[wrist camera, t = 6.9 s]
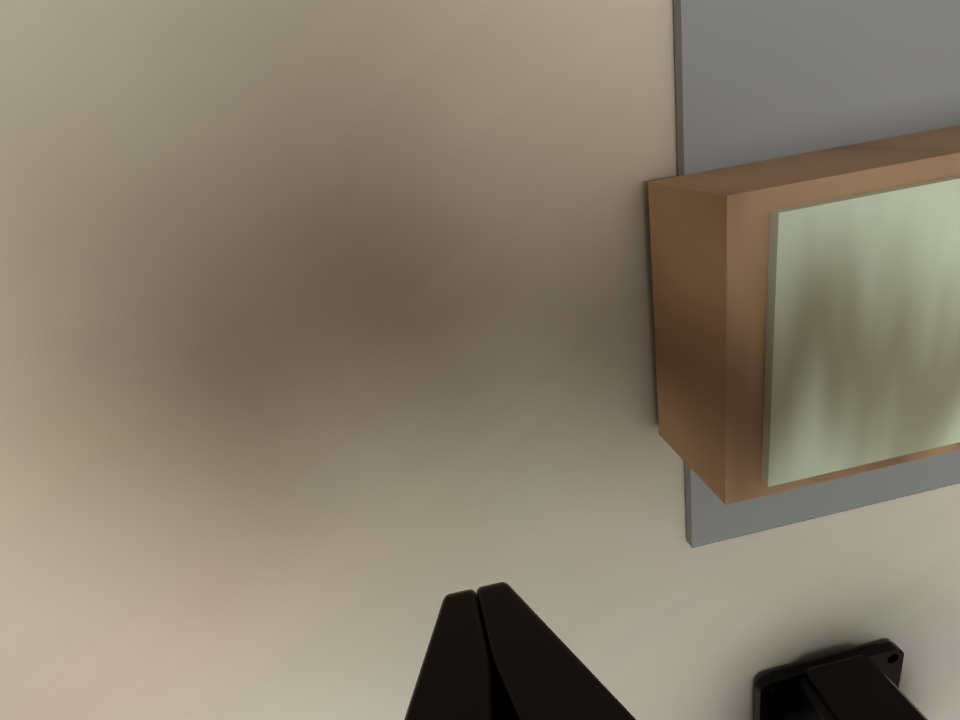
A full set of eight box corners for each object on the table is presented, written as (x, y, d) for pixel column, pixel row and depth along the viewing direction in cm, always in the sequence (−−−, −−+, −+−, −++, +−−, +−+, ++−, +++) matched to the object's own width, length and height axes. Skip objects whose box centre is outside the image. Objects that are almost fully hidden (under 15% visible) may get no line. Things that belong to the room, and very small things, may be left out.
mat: (1073, 447, 23) (1084, 452, 23) (686, 540, 22) (692, 547, 21) (1222, -113, 16) (1242, -119, 16) (672, -32, 15) (679, -37, 14)
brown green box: (658, 433, 19) (1015, 354, 20) (731, 511, 15) (1168, 408, 16) (648, 181, 16) (1067, 105, 17) (734, 197, 12) (1270, 97, 13)
